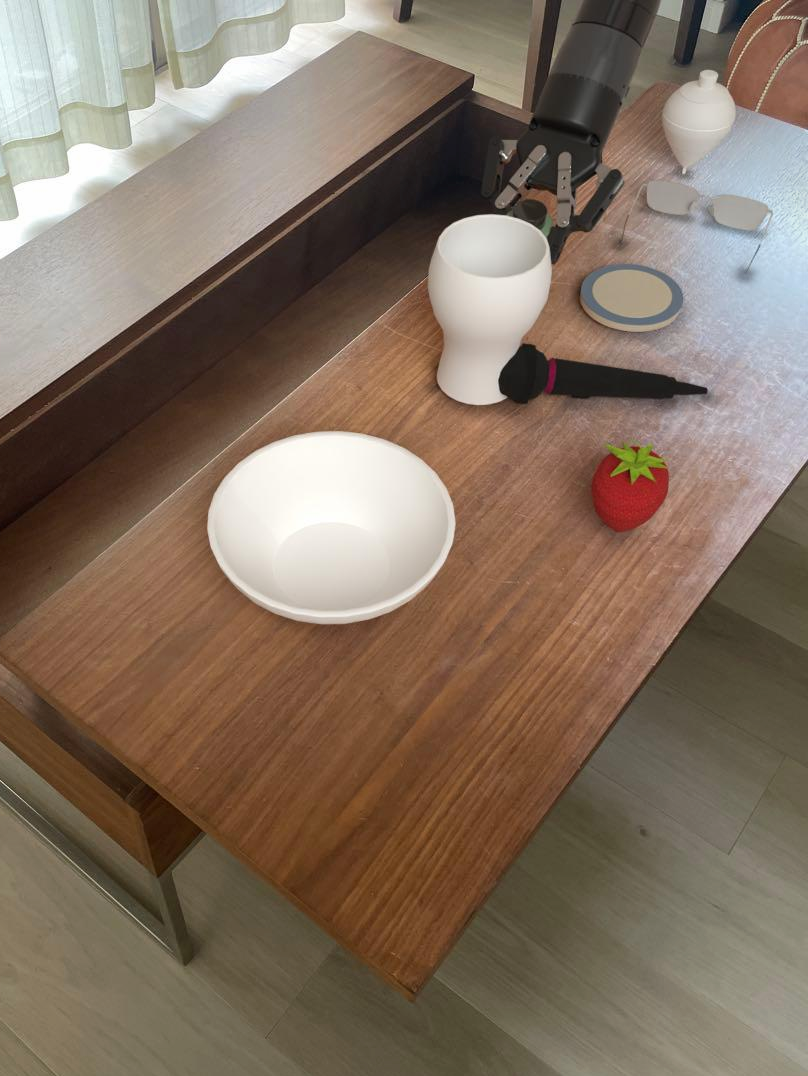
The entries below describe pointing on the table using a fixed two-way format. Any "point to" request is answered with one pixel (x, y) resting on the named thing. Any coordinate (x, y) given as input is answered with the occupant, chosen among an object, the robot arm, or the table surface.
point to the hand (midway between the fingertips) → (516, 257)
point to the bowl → (331, 526)
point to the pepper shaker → (533, 215)
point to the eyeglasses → (724, 207)
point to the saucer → (631, 297)
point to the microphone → (582, 379)
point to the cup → (485, 299)
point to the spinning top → (698, 118)
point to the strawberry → (629, 486)
